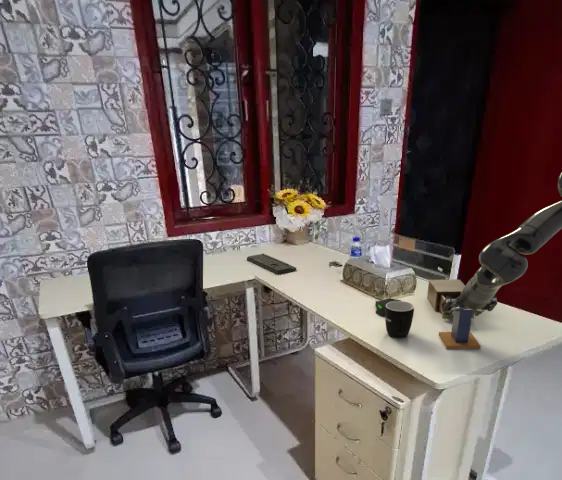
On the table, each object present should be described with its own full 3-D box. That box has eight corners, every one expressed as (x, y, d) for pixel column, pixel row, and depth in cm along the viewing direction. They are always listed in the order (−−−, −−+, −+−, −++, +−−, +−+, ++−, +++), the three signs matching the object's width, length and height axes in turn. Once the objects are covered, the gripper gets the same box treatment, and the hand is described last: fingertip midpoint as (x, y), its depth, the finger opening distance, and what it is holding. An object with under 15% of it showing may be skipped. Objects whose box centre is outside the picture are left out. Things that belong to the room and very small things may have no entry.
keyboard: (296, 270, 209) (296, 266, 208) (277, 274, 204) (277, 270, 203) (264, 256, 237) (263, 252, 236) (246, 259, 232) (246, 256, 231)
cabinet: (467, 310, 153) (470, 291, 149) (434, 311, 154) (437, 291, 151) (457, 297, 165) (459, 279, 162) (426, 298, 166) (428, 279, 163)
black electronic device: (380, 320, 149) (381, 309, 147) (369, 303, 164) (370, 294, 162) (412, 318, 149) (413, 307, 148) (398, 301, 164) (398, 292, 162)
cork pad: (470, 334, 135) (470, 331, 135) (480, 348, 126) (480, 345, 126) (438, 334, 137) (438, 331, 136) (446, 348, 128) (446, 345, 127)
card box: (462, 334, 133) (467, 302, 128) (467, 342, 128) (473, 309, 123) (450, 334, 134) (455, 303, 129) (455, 342, 129) (460, 309, 124)
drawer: (477, 323, 141) (480, 307, 138) (445, 323, 142) (447, 307, 139) (463, 305, 155) (465, 290, 153) (434, 305, 157) (436, 290, 154)
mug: (381, 328, 143) (382, 301, 138) (407, 327, 142) (410, 300, 138) (389, 344, 132) (391, 315, 127) (417, 343, 132) (420, 314, 127)
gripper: (504, 278, 114) (484, 302, 129) (450, 279, 115) (436, 302, 131) (508, 303, 111) (486, 324, 127) (453, 303, 113) (438, 324, 128)
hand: (461, 313), depth 129 cm, fingers open, 8 cm apart
